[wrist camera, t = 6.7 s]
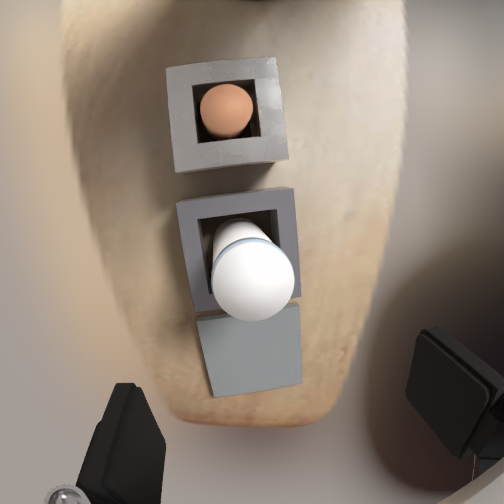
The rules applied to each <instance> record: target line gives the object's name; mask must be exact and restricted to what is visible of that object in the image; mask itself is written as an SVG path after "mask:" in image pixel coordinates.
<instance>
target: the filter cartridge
mask: <svg viewBox="0 0 504 504" xmlns="http://www.w3.org/2000/svg"><path fill="white" fill-rule="evenodd" d="M211 286H212V291H213V294H214V297H215V299H216V300H217V302H218V304H219V305H220V306H221V308H222V309H223V310H224V311H225V312H227V313H228V314H229V315H231V316H233V317H235V318H237V319H240V320H245V321H259V320H264V319H267V318H269V317H271V316H273V315H275V314H276V313H278V312H279V311H280V310H281V309H282V308H283V307H284V306H285V305H286V304H287V303H288V301H289V299H290V297H291V295H292V292H293V289H294V273H293V268H292V265H291V263H290V261H289V259H288V257H287V256H286V255H285V254H284V252H283V251H282V250H281V249H280V248H279V247H278V246H277V245H275V244H274V243H272V241H271V240H270V239H269V238H268V237H267V236H266V235H265V234H264V233H263V231H262V230H261V229H260V228H259V227H258V226H257V225H256V224H255V223H254V222H252V221H250V220H248V219H245V218H232V219H229V220H227V221H225V222H224V223H223V224H221V225H220V226H219V228H218V229H217V231H216V233H215V235H214V240H213V267H212V274H211Z"/></svg>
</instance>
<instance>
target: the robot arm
mask: <svg viewBox="0 0 504 504" xmlns="http://www.w3.org/2000/svg"><path fill="white" fill-rule="evenodd" d="M405 393H406V398H407V399H408V401H409V402H410V403H411V404H412V406H413V407H414V408H415V409H416V411H417V412H418V413H419V414H420V415H421V417H422V418H423V419H424V420H425V422H426V423H427V424H428V425H429V427H430V428H431V429H432V430H433V432H434V433H435V434H436V435H437V437H438V438H439V439H440V441H441V442H442V443H443V444H444V446H445V447H446V448H447V449H448V451H449V452H450V453H451V454H452V455H453V456H457V457H458V459H459V460H462V459H463V458H465V457H466V456H468V455H469V454H470V453H471V452H472V451H473V452H474V453H475V463H474V472H473V480H472V482H471V483H469V484H467V485H466V486H464V487H463V488H461V489H460V490H458V491H457V492H455V493H454V494H452V495H451V496H449V497H447V498H446V499H444V500H442V501H441V502H439V503H437V504H504V378H503V377H502V376H501V375H500V374H498V373H497V372H496V371H495V370H493V369H492V368H491V367H490V366H488V365H487V364H486V363H485V362H484V361H482V360H481V359H480V358H478V357H477V356H476V355H474V354H473V353H472V352H471V351H469V350H468V349H467V348H466V347H464V346H463V345H462V344H460V343H459V342H458V341H456V340H455V339H454V338H452V337H451V336H450V335H449V334H447V333H446V332H444V331H443V330H442V329H441V328H439V327H438V326H431V327H428V328H425V329H423V330H421V332H420V334H419V335H418V336H417V339H416V345H415V350H414V355H413V360H412V365H411V369H410V374H409V378H408V382H407V387H406V391H405ZM165 453H166V443H165V439H164V437H163V435H162V434H161V431H160V429H159V427H158V425H157V423H156V420H155V418H154V416H153V414H152V412H151V409H150V407H149V405H148V403H147V400H146V398H145V395H144V393H143V391H142V389H141V388H140V387H136V385H135V384H134V383H117V384H116V385H115V387H114V389H113V392H112V395H111V397H110V400H109V402H108V405H107V407H106V410H105V412H104V415H103V418H102V420H101V421H100V422H99V423H98V424H97V426H96V428H95V431H94V434H93V436H92V439H91V442H90V445H89V447H88V450H87V453H86V456H85V459H84V462H83V464H82V468H81V470H80V473H79V476H78V479H77V483H76V486H73V485H69V484H63V485H59V486H56V487H54V488H52V489H51V490H50V491H49V492H48V493H47V495H46V497H45V500H44V504H160V503H161V492H162V481H163V472H164V462H165Z"/></svg>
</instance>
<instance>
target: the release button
mask: <svg viewBox="0 0 504 504" xmlns="http://www.w3.org/2000/svg"><path fill="white" fill-rule="evenodd" d="M200 112H201V117H202V121H203V125H204V128H205V130H206V131H207V133H208V134H209V135H210V136H211V137H213V138H215V139H218V140H231V139H234V138H236V137H237V136H239V135H240V134H241V133H242V131H243V130H244V128H245V127H246V125H247V123H248V121H249V120H250V118H251V115H252V112H253V104H252V101H251V98H250V96H249V95H248V94H247V92H246V91H244V90H243V89H242V88H240V87H238V86H235V85H231V84H223V85H219V86H216V87H214V88H212V89H210V90H209V91H208V92H207V93H206V94H205V95H204V97H203V99H202V101H201V106H200Z"/></svg>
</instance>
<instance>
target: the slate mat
mask: <svg viewBox="0 0 504 504" xmlns="http://www.w3.org/2000/svg"><path fill="white" fill-rule="evenodd" d="M196 323H197V327H198V332H199V336H200V341H201V345H202V350H203V354H204V358H205V362H206V366H207V370H208V375H209V379H210V382H211V386H212V390H213V394H214V397H222V396H230V395H237V394H244V393H251V392H258V391H264V390H270V389H275V388H281V387H286V386H291V385H296V384H301V383H302V358H301V331H300V310H299V305H298V303H291V304H286V305H285V306H284V307H283V308H282V309H281V310H280V311H279V312H278V313H276V314H275V315H273V316H271V317H269V318H267V319H264V320H259V321H245V320H240V319H237V318H235V317H233V316H231V315H229V314H228V313H226V314H218V315H211V316H203V317H197V319H196Z"/></svg>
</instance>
